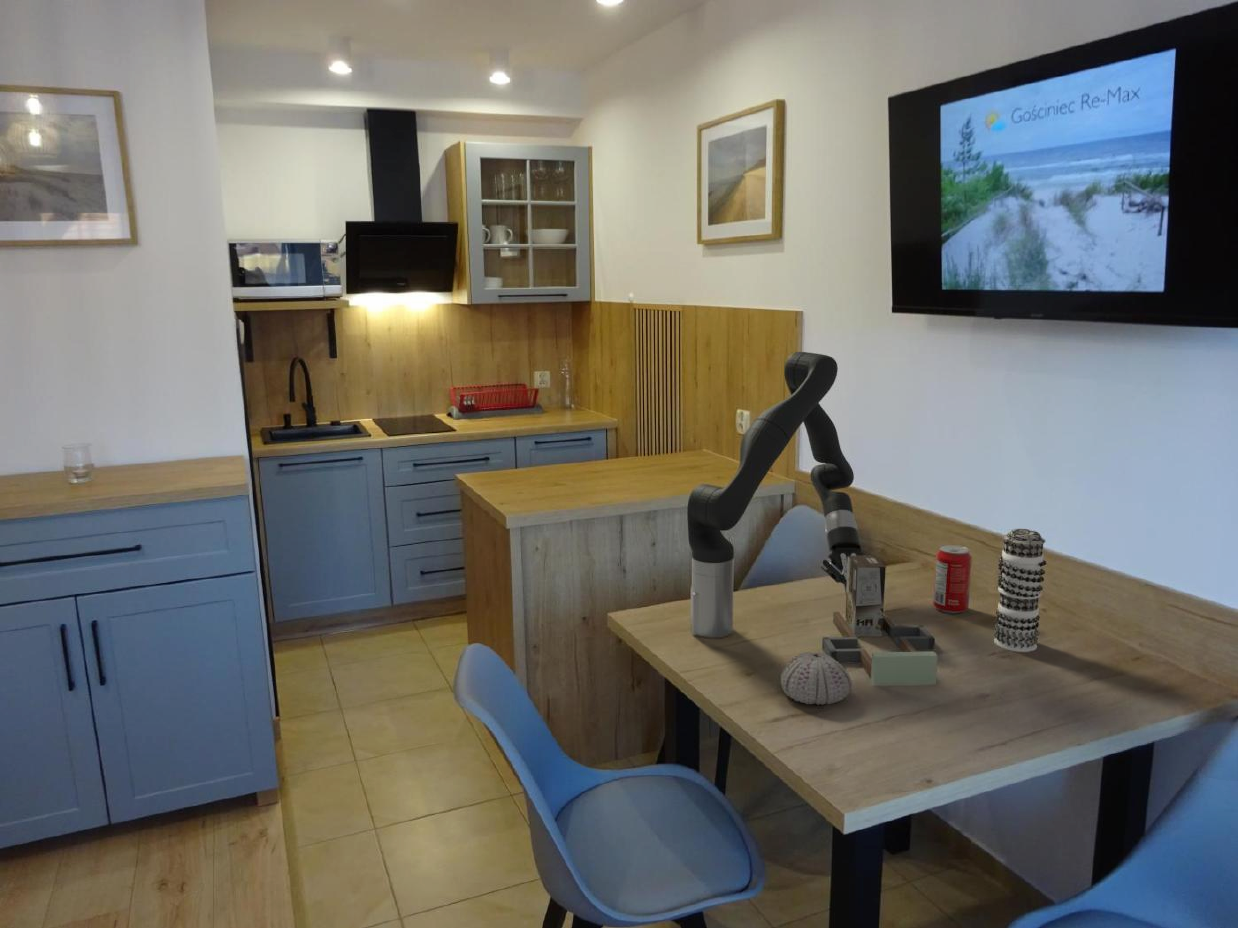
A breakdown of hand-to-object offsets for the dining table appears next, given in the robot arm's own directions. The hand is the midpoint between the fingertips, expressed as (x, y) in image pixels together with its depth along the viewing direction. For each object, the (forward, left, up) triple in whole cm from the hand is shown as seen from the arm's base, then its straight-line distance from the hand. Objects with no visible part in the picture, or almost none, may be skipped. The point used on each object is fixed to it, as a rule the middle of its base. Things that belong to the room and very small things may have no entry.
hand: (853, 597), depth 206 cm
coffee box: (0, -9, -4) cm, 10 cm away
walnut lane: (0, -20, -4) cm, 21 cm away
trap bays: (0, -20, -4) cm, 21 cm away
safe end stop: (0, -36, -4) cm, 37 cm away
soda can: (+24, +3, -4) cm, 25 cm away
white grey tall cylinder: (+30, -18, -4) cm, 36 cm away
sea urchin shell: (-18, -40, -5) cm, 45 cm away
